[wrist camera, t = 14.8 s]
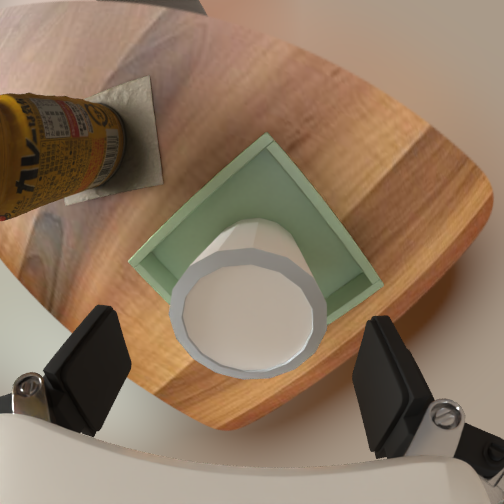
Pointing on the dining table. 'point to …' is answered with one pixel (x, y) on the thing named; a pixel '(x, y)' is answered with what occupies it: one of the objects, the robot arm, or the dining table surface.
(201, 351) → the shot glass
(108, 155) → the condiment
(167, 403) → the dining table surface
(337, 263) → the tray
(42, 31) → the dining table surface
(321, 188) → the dining table surface
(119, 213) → the dining table surface
